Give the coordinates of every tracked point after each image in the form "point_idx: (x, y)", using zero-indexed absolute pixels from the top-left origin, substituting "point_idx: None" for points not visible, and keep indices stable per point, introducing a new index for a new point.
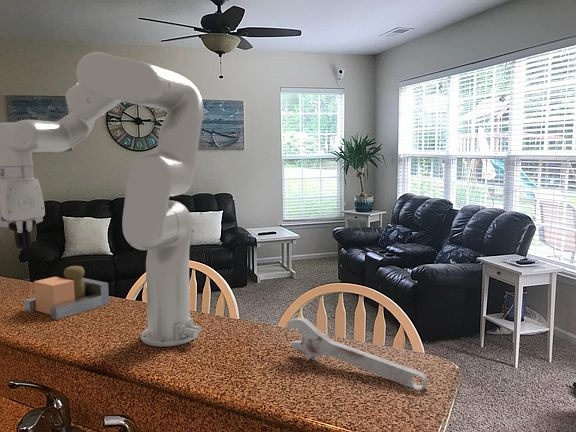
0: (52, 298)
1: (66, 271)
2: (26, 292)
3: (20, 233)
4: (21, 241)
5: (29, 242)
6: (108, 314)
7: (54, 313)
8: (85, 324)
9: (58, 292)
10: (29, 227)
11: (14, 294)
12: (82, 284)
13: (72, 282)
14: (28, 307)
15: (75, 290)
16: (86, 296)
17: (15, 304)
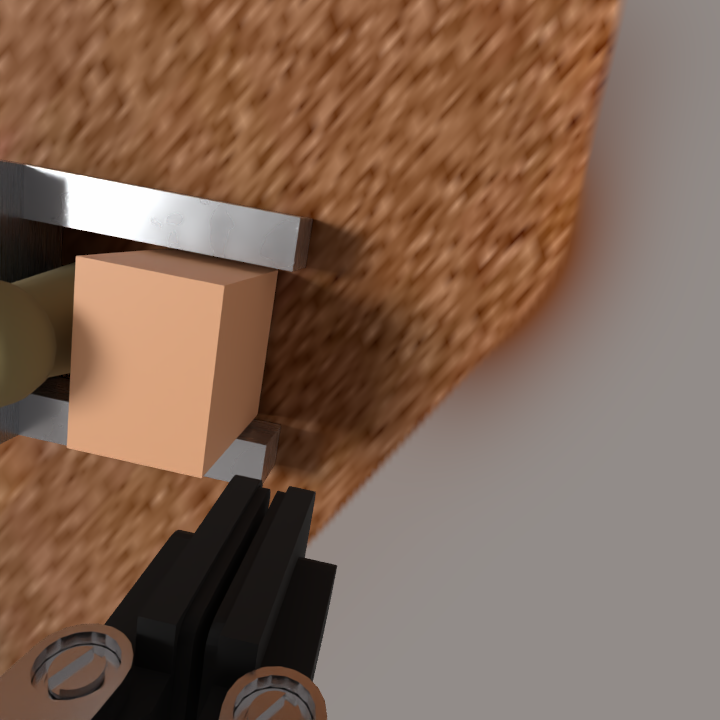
0: (250, 289)
1: (24, 359)
2: None
3: (262, 684)
4: (291, 582)
5: (220, 506)
6: (143, 27)
7: (304, 234)
8: (306, 22)
9: (210, 274)
10: (45, 705)
11: None
12: (20, 280)
13: (92, 256)
14: (274, 442)
15: None
16: None
17: None
